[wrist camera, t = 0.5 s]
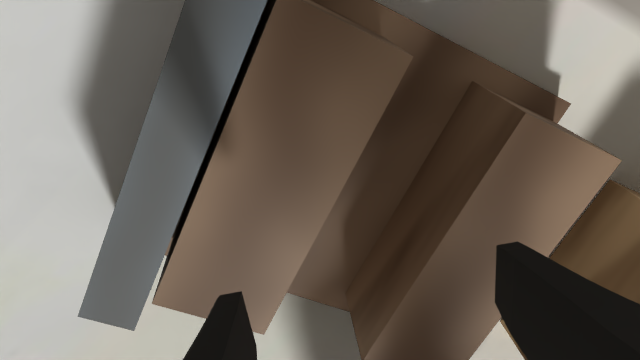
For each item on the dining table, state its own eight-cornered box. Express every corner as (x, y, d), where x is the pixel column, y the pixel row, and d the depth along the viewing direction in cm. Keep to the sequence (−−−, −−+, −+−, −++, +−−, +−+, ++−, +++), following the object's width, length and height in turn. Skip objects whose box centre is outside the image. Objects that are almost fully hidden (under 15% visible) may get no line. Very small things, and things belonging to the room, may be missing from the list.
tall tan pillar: (649, 198, 25) (755, 264, 20) (538, 333, 28) (602, 421, 23) (608, 178, 24) (707, 242, 19) (499, 320, 28) (556, 408, 22)
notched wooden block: (558, 97, 22) (656, 144, 16) (408, 318, 27) (445, 410, 21) (230, -74, 17) (215, -88, 12) (122, 228, 22) (77, 316, 17)
